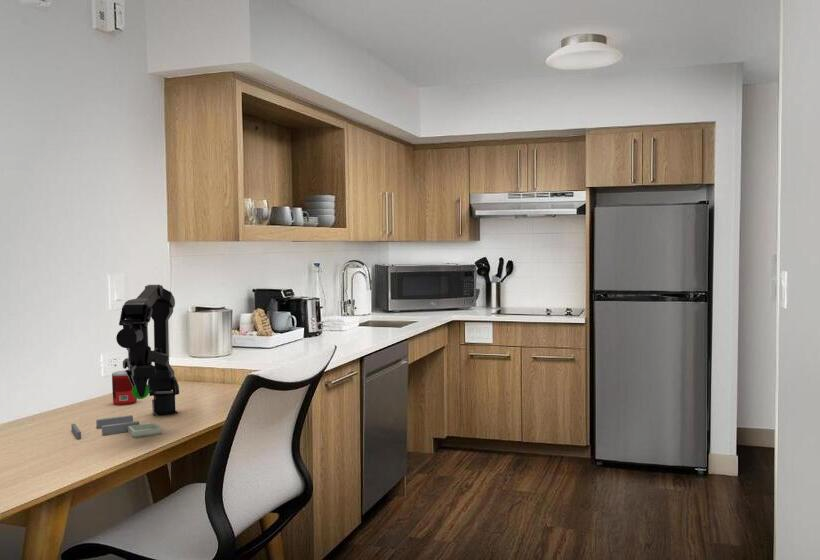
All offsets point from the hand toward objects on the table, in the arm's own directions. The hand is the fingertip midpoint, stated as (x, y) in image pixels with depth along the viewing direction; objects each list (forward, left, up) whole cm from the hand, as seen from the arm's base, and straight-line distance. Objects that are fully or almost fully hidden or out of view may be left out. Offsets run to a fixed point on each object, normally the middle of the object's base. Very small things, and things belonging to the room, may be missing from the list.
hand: (140, 395), depth 224 cm
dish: (-1, +1, -11) cm, 11 cm away
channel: (+8, -9, -11) cm, 17 cm away
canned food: (-4, -46, -12) cm, 48 cm away
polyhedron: (0, 0, -1) cm, 1 cm away
